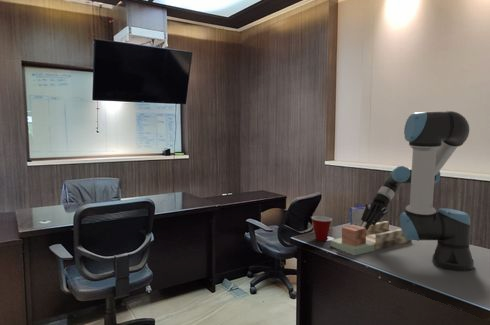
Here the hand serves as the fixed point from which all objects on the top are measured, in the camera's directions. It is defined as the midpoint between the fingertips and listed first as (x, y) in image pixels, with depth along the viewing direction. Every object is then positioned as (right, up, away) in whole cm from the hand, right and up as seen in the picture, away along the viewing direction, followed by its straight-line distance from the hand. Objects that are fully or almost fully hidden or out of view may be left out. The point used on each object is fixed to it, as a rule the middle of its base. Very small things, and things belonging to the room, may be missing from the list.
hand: (360, 233), depth 171 cm
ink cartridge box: (+10, -3, +32) cm, 34 cm away
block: (-4, -4, -3) cm, 6 cm away
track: (+13, -5, +7) cm, 16 cm away
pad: (-5, -7, -2) cm, 8 cm away
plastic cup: (-16, -6, +13) cm, 21 cm away
